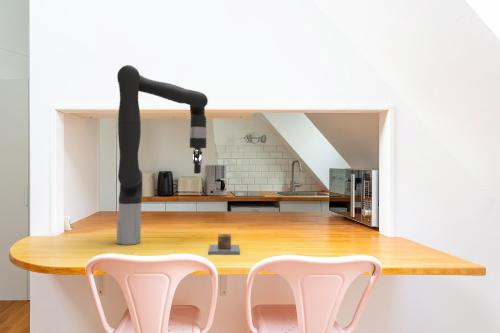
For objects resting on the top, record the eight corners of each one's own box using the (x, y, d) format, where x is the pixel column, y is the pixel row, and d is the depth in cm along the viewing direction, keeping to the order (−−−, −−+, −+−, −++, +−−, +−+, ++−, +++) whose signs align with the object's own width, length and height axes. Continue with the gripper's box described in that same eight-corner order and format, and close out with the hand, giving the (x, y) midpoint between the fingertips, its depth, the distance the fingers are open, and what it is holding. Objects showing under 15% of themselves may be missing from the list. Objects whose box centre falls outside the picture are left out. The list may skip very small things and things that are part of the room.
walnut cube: (217, 249, 151) (218, 236, 151) (218, 246, 156) (218, 234, 156) (230, 249, 151) (230, 236, 151) (230, 246, 156) (230, 234, 156)
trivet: (208, 254, 147) (208, 251, 147) (209, 247, 159) (209, 244, 159) (239, 254, 148) (239, 251, 148) (239, 247, 160) (239, 244, 160)
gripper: (191, 138, 182) (190, 172, 183) (188, 136, 168) (187, 173, 168) (207, 138, 183) (206, 173, 183) (205, 136, 169) (204, 173, 169)
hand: (197, 173), depth 176 cm, fingers open, 8 cm apart
